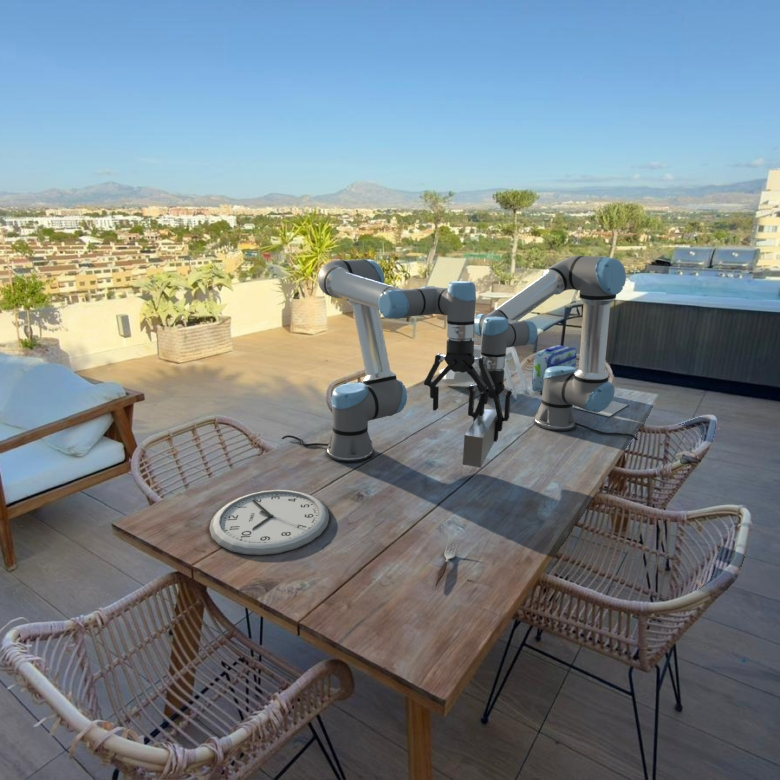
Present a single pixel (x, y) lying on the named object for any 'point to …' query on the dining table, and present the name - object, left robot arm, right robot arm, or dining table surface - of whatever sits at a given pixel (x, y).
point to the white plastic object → (465, 377)
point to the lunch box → (551, 363)
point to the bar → (479, 439)
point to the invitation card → (609, 408)
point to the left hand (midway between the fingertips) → (458, 411)
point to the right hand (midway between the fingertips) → (486, 438)
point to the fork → (448, 555)
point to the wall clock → (269, 522)
